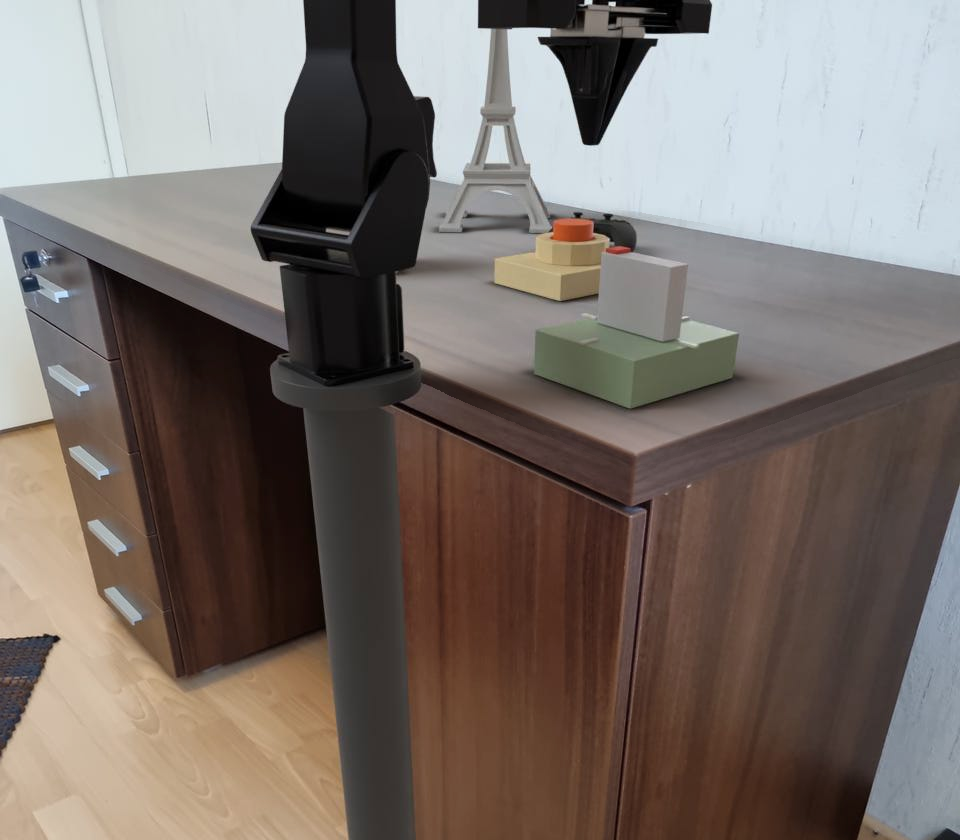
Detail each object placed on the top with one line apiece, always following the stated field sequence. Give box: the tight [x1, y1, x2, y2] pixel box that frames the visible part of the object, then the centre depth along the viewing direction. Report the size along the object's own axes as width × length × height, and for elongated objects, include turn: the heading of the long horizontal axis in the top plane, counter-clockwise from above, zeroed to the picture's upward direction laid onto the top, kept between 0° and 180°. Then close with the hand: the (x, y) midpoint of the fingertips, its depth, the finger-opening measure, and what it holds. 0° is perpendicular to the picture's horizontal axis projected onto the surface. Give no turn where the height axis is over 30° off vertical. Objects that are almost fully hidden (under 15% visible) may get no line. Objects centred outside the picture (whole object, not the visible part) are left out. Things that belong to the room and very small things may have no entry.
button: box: [552, 218, 594, 242], centre depth 83 cm, size 4×4×2 cm
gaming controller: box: [548, 211, 638, 252], centre depth 99 cm, size 10×5×6 cm
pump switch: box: [494, 232, 611, 302], centre depth 85 cm, size 11×9×4 cm
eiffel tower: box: [438, 29, 553, 234], centre depth 105 cm, size 13×13×30 cm
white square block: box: [596, 246, 689, 342], centre depth 59 cm, size 6×2×5 cm, turn 38°
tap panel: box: [533, 312, 740, 410], centre depth 62 cm, size 10×10×3 cm
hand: (590, 145), depth 71 cm, fingers closed
